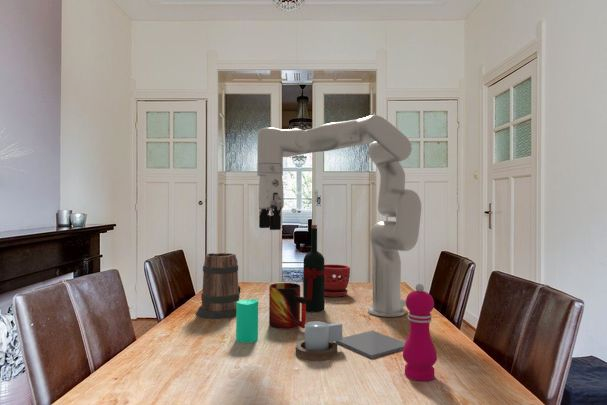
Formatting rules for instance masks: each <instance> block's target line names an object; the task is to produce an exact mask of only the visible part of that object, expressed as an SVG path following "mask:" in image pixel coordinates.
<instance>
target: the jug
mask: <svg viewBox="0 0 607 405" xmlns="http://www.w3.org/2000/svg"><path fill="white" fill-rule="evenodd" d="M342 338H343V324H342V323H341V322H337V323H336V322H335V323H328V322H323V321H318V320H317V321H309V322H306V324H305V328H304V340H305V349H306V350H310V351H324V350H329V342H335V341H340V340H342Z"/></svg>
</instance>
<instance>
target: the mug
mask: <svg viewBox="0 0 607 405" xmlns="http://www.w3.org/2000/svg"><path fill="white" fill-rule="evenodd" d="M268 287H269V289H268V290H269V291H268V292H269V295H268V296H269V297H268V300H269V301H268V303H269V304H268V305H269V306H268V311H269V312H268V313H269V314H268V315H269V316H268V324H269V327H270V328H273V329H277V330H278V329H279V330H290V329H291V330H292V329H295V328H301V329H305V324H306V323H307V312H306V298H304V297H303V296H301V285H300V284H298V283H295V282H294V283H293V282H278V283H277V282H276V283H272V284H270V285H269V286H268Z"/></svg>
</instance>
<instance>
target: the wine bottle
mask: <svg viewBox="0 0 607 405" xmlns="http://www.w3.org/2000/svg"><path fill="white" fill-rule="evenodd" d="M310 237H311V238H310V251H308V252H307V253H306V254H305V256H304V257H303V270H302V271H303V275H302V276H303V277H302V279H303V281H302V282H303V284H302V297H304V298H306V313H321V312H324V311H325V310H326V309H325V300H326V299H325V295H324V265H325V257H324V256H323V253H321V252H319V251H318V224H311V228H310Z"/></svg>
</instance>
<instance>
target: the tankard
mask: <svg viewBox="0 0 607 405" xmlns="http://www.w3.org/2000/svg"><path fill="white" fill-rule="evenodd" d="M236 255H237V254H236V253H228V252H227V253H226V252H221V253H213V252H212V253H206V254H205V257H204V264H203V266H202V277H203V278H202V293H201V295H200V296H201V297H200V298H201V299H200V300H201V305H200V306H199V307H198V309H197V311H195V313H194V315H195V316H196V317H198V318H200V319H206V320H226V319H227V320H228V319H233V318H236V301H239V300H240V294H241V286H240V285H239V265H238V259H237V256H236Z"/></svg>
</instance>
